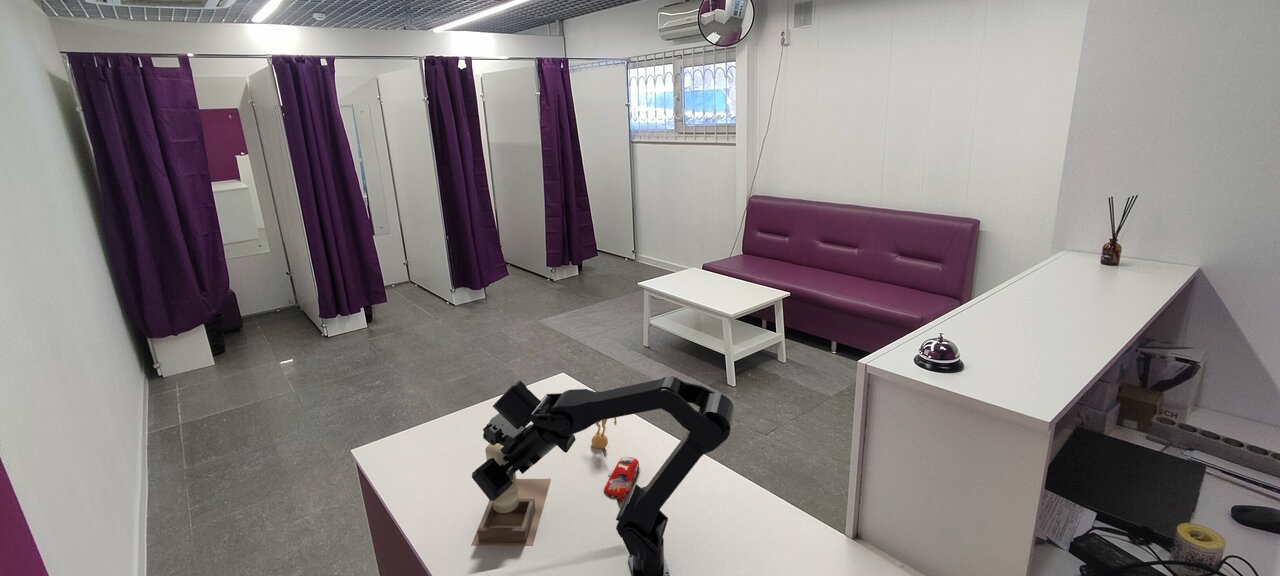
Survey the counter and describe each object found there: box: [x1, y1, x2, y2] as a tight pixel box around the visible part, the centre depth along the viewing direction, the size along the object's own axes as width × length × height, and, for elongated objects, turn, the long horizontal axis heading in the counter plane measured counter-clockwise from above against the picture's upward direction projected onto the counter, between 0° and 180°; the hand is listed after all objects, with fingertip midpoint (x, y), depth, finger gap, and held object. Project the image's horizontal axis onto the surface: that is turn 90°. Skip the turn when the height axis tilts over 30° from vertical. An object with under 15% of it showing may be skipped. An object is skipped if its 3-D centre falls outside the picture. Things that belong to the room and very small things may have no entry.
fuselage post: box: [485, 443, 519, 513], centre depth 113 cm, size 5×5×13 cm
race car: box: [603, 456, 640, 502], centre depth 130 cm, size 13×5×4 cm, turn 161°
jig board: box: [470, 478, 552, 547], centre depth 121 cm, size 20×12×4 cm, turn 178°
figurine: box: [591, 417, 617, 450], centre depth 142 cm, size 8×6×12 cm
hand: (497, 475), depth 114 cm, fingers closed on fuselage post, 5 cm apart
